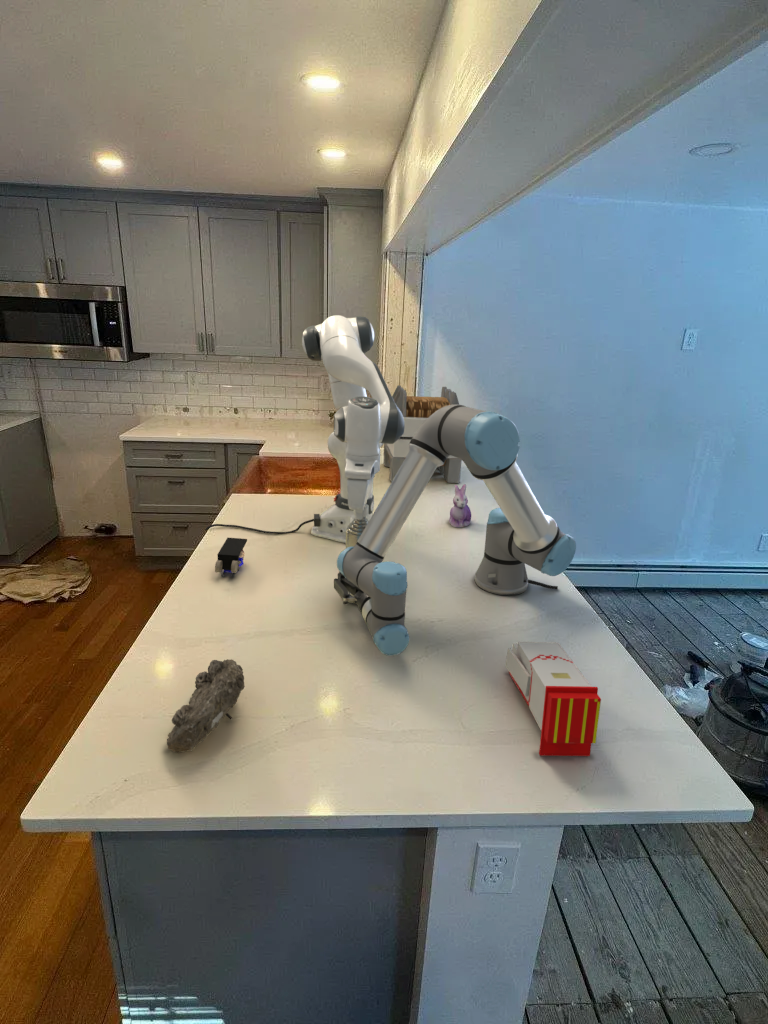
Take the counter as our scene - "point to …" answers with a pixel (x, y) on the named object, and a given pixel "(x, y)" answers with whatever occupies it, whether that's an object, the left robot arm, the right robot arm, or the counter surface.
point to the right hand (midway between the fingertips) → (355, 568)
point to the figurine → (460, 508)
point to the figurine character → (230, 556)
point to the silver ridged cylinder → (355, 533)
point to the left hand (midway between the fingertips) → (360, 515)
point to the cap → (364, 510)
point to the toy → (556, 697)
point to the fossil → (206, 705)
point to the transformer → (414, 417)
